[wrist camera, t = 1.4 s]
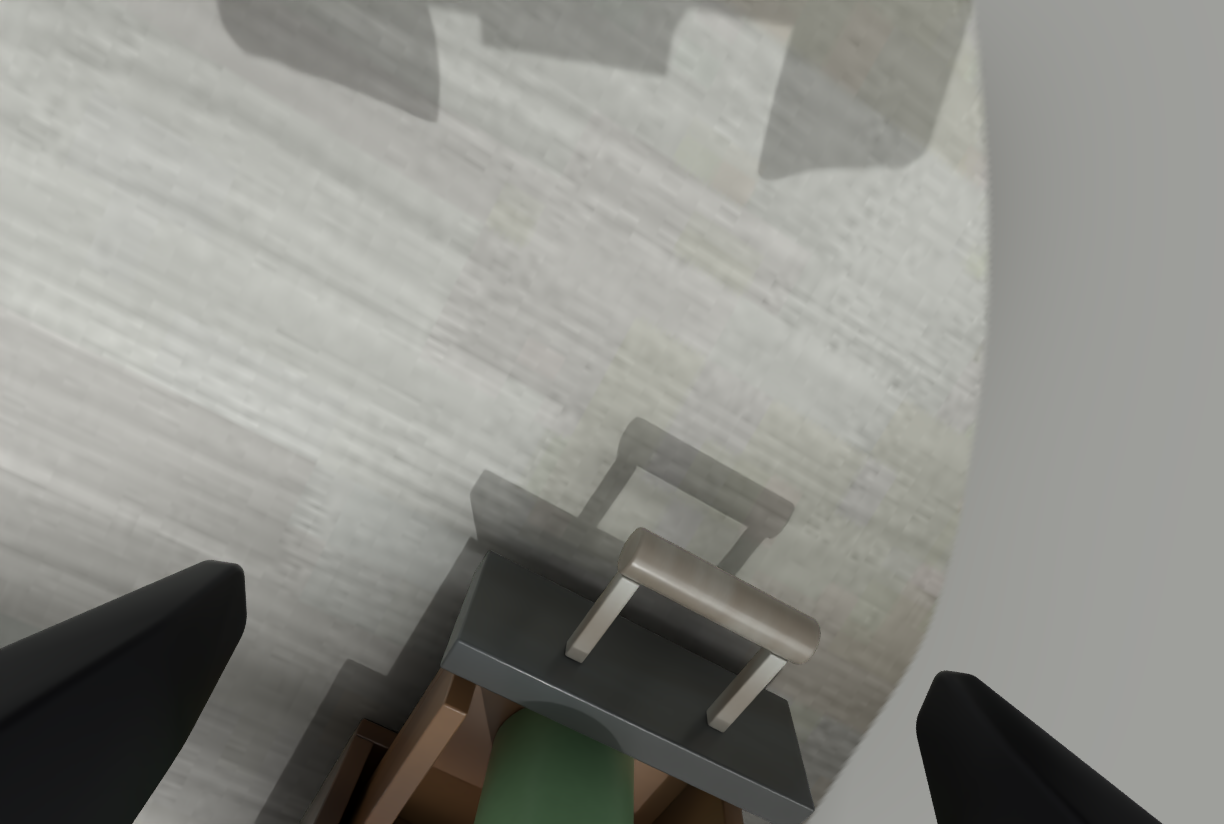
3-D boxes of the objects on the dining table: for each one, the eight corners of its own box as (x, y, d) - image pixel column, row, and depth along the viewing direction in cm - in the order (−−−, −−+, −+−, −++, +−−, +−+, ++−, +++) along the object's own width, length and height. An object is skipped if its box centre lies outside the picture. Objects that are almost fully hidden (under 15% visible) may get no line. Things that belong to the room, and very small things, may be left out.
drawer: (559, 436, 21) (539, 509, 17) (873, 608, 23) (922, 710, 19) (346, 779, 27) (294, 892, 23) (609, 892, 29) (604, 1015, 25)
